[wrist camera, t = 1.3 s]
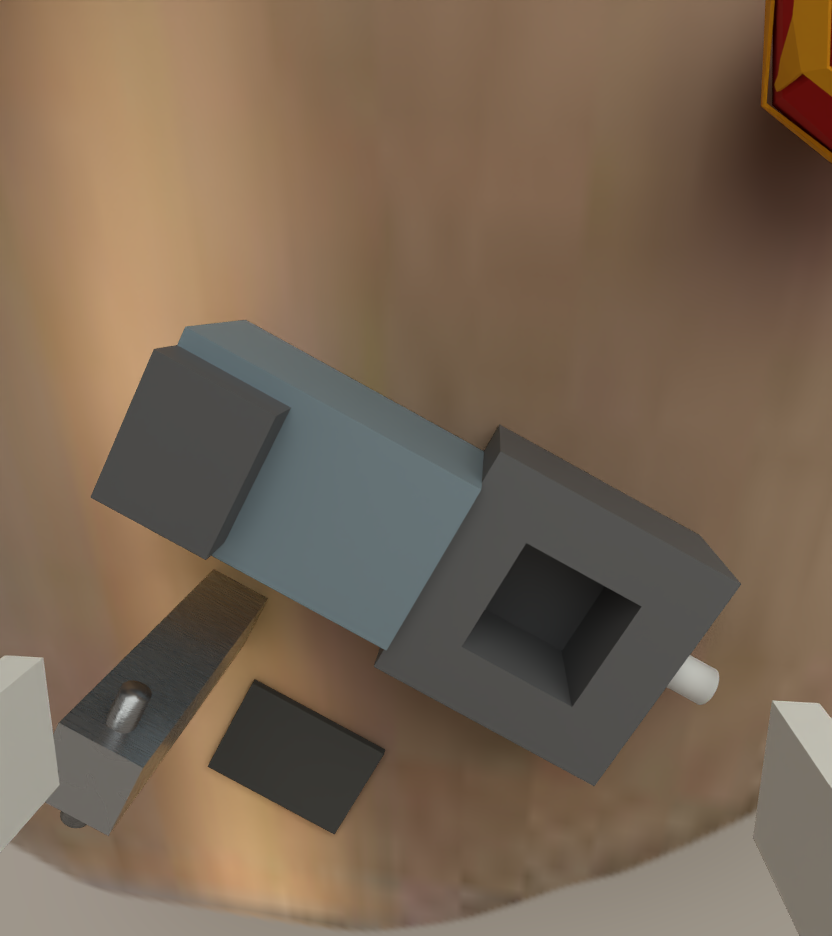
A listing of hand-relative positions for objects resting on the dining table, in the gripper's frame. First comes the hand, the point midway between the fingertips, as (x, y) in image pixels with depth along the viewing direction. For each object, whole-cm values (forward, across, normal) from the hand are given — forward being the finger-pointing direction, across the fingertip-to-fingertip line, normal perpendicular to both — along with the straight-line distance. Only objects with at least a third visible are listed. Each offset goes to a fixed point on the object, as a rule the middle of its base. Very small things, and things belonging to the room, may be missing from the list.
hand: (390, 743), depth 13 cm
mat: (+23, -8, -17) cm, 30 cm away
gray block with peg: (+23, -12, -8) cm, 27 cm away
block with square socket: (+23, 0, -3) cm, 23 cm away
